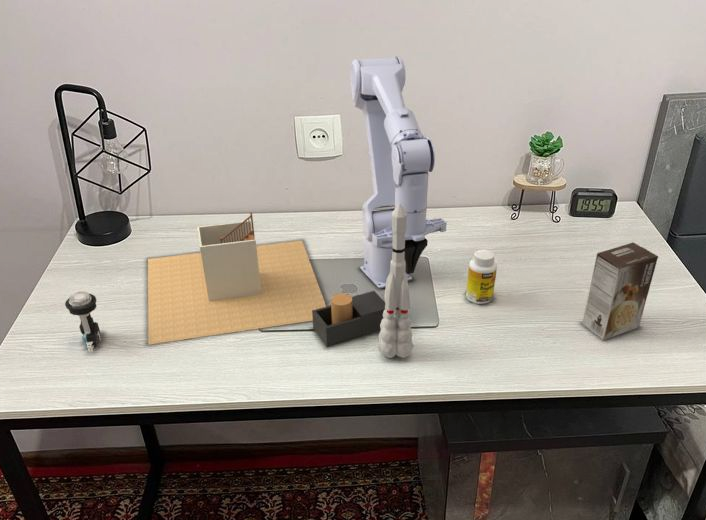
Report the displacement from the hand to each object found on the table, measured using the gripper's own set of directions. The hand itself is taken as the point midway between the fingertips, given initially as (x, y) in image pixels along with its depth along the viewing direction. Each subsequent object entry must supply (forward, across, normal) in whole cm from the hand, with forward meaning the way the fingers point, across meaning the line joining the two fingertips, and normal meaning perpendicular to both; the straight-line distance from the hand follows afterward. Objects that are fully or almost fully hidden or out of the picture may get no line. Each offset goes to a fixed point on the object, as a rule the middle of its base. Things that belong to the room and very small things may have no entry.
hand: (408, 271), depth 133 cm
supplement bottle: (+10, +16, -1) cm, 19 cm away
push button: (+10, -58, +18) cm, 61 cm away
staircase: (+10, -28, +25) cm, 39 cm away
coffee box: (+10, +34, -21) cm, 41 cm away
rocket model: (+10, -8, -10) cm, 16 cm away
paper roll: (+6, -14, 0) cm, 15 cm away
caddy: (+10, -12, 0) cm, 16 cm away
